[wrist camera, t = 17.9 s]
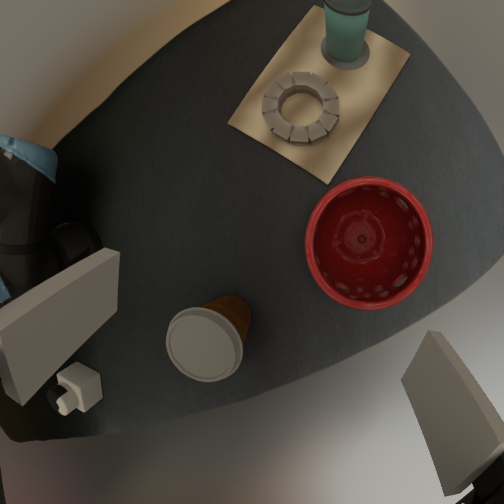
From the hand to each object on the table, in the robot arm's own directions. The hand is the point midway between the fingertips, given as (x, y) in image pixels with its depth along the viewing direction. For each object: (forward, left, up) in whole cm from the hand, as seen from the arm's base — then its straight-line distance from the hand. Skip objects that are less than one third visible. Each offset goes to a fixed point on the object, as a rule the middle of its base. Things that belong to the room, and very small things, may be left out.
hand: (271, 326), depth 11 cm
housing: (-10, +19, -30) cm, 37 cm away
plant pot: (+5, +4, -30) cm, 31 cm away
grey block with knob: (-20, -51, -30) cm, 62 cm away
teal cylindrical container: (-10, +26, -28) cm, 40 cm away
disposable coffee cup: (-3, -16, -30) cm, 34 cm away
